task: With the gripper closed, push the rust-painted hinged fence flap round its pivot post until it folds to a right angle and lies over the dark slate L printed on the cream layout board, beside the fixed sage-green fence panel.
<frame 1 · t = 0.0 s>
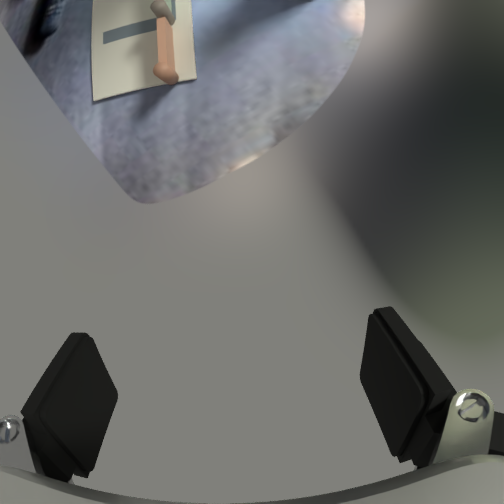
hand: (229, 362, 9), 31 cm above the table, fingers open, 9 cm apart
fence flap: (164, 42, 28), point 3 cm above the table, hinge at 0.0°
layout board: (140, 23, 29), on the table
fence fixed: (168, 21, 29), resting on layout board
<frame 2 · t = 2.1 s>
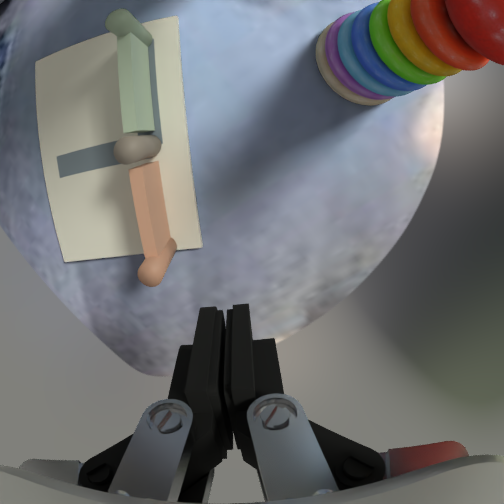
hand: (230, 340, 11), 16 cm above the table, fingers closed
fence flap: (148, 205, 21), point 4 cm above the table, hinge at 0.0°
layout board: (108, 143, 22), on the table
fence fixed: (150, 146, 22), resting on layout board
stacking toy: (357, 62, 21), on the table
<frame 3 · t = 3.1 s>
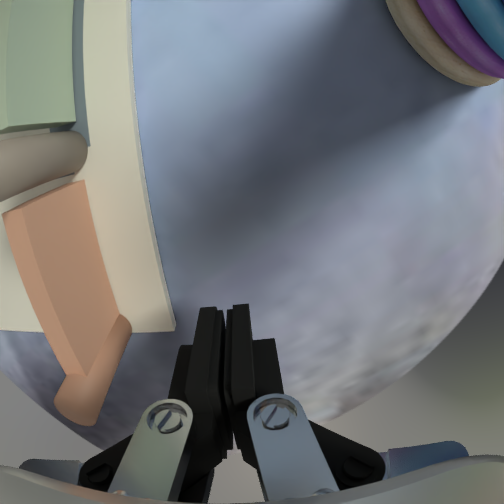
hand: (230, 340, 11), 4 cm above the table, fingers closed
fence flap: (59, 275, 10), point 3 cm above the table, hinge at 0.0°
layout board: (12, 150, 11), on the table
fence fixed: (69, 151, 10), resting on layout board
stacking toy: (442, 15, 9), on the table
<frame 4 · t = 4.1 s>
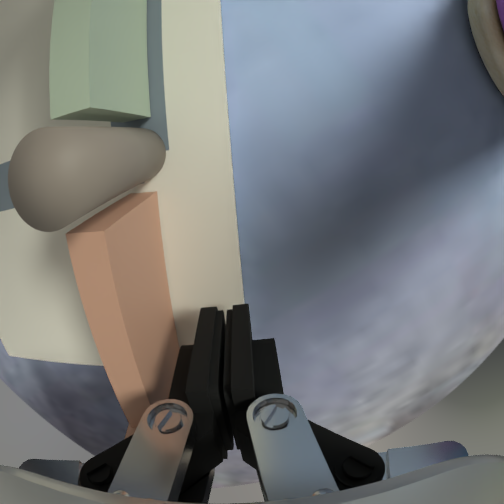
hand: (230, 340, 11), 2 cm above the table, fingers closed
fence flap: (130, 313, 8), point 3 cm above the table, hinge at -2.8°, touching gripper
layout board: (52, 147, 10), on the table
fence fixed: (140, 154, 9), resting on layout board
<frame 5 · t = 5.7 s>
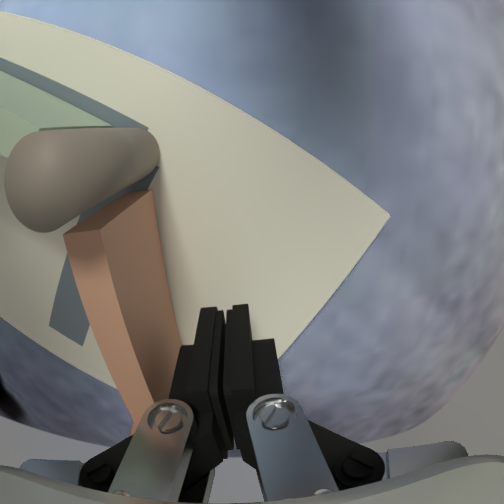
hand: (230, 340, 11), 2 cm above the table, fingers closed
fence flap: (130, 310, 8), point 4 cm above the table, hinge at -54.3°, touching gripper
layout board: (79, 231, 11), on the table
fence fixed: (134, 153, 9), resting on layout board
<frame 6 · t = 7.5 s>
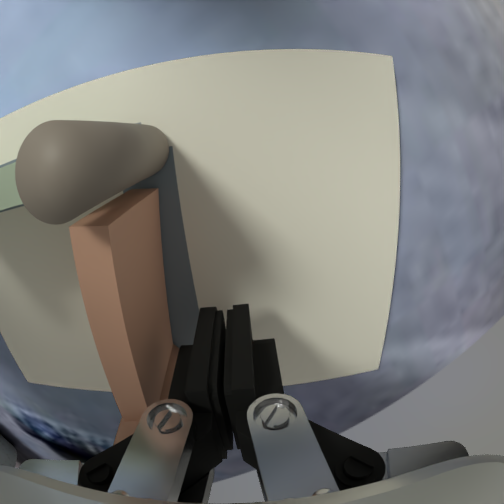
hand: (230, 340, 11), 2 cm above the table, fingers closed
fence flap: (128, 307, 8), point 4 cm above the table, hinge at -96.6°
layout board: (142, 256, 11), on the table
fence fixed: (143, 150, 9), resting on layout board
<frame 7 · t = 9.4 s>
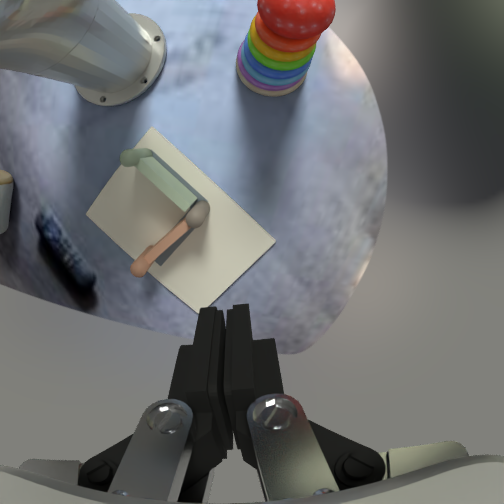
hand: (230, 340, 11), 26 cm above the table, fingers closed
fence flap: (170, 237, 33), point 3 cm above the table, hinge at -96.7°
layout board: (175, 225, 36), on the table
ceramic mug: (0, 194, 34), on the table
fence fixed: (202, 207, 35), resting on layout board
stacking toy: (271, 66, 30), on the table
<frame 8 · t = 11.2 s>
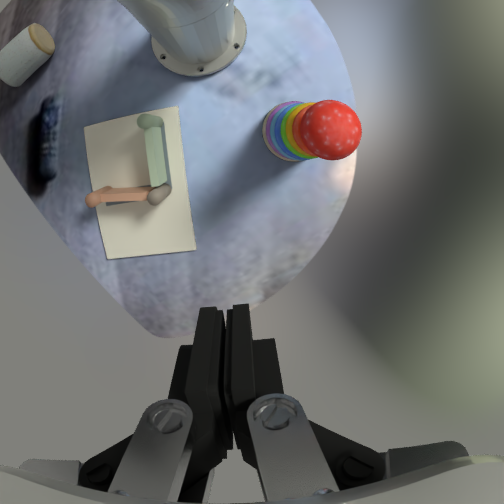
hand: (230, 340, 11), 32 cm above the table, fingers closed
fence flap: (128, 194, 37), point 3 cm above the table, hinge at -96.7°
layout board: (138, 186, 40), on the table
ceramic mug: (35, 53, 30), on the table
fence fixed: (165, 189, 39), resting on layout board
stacking toy: (291, 131, 38), on the table
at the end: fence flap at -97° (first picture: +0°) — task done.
